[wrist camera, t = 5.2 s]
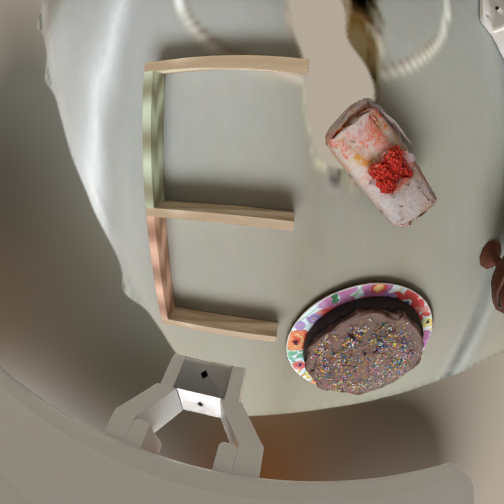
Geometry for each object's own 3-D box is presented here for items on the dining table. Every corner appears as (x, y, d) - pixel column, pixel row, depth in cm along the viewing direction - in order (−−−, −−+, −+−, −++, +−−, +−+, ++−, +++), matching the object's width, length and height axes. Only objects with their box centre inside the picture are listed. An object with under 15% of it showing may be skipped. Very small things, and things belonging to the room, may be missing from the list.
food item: (311, 136, 30) (319, 143, 22) (356, 96, 27) (381, 88, 18) (379, 214, 33) (404, 247, 25) (420, 178, 30) (457, 200, 21)
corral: (157, 66, 28) (145, 63, 25) (307, 65, 26) (309, 59, 23) (169, 310, 46) (162, 322, 43) (277, 327, 45) (275, 342, 42)
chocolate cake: (254, 330, 46) (248, 359, 41) (399, 244, 35) (415, 268, 29) (332, 397, 54) (333, 421, 48) (443, 343, 43) (453, 366, 37)
